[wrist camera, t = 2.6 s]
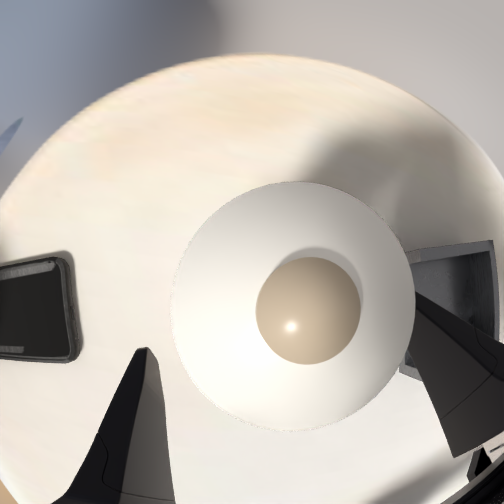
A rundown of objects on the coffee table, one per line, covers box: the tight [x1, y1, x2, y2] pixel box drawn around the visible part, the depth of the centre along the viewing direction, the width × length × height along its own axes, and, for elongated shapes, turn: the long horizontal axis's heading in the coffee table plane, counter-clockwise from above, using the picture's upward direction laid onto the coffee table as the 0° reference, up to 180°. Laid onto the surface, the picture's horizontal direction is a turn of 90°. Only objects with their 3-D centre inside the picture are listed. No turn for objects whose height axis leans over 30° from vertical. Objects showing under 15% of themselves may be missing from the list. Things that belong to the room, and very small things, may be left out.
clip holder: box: [399, 240, 499, 382], centre depth 17 cm, size 9×9×4 cm
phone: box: [0, 257, 80, 363], centre depth 16 cm, size 8×1×15 cm
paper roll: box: [170, 182, 415, 431], centre depth 12 cm, size 5×5×13 cm
